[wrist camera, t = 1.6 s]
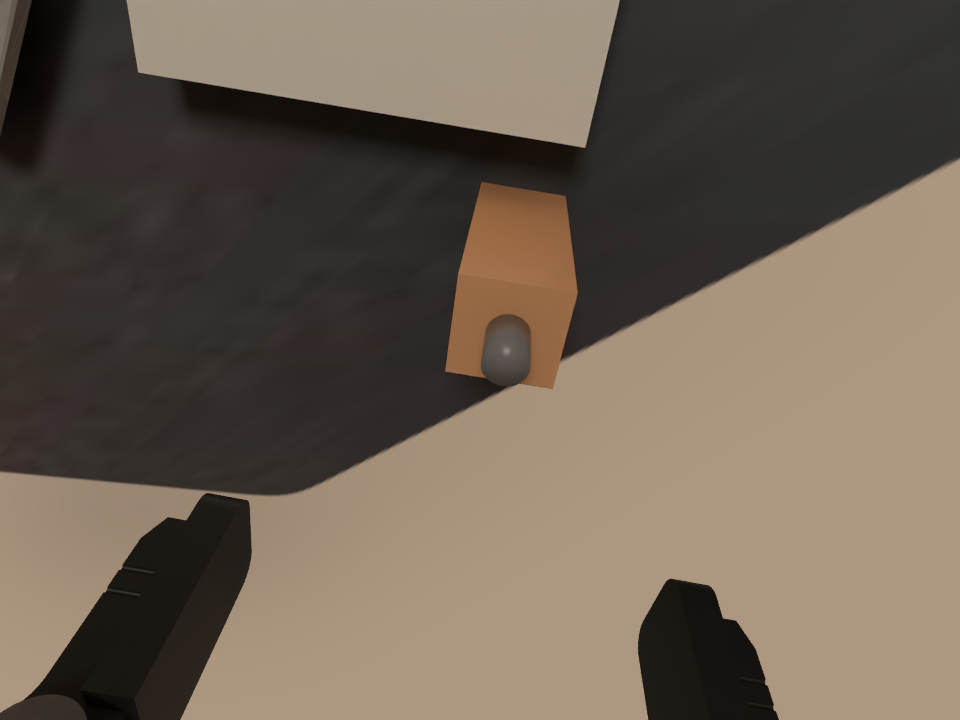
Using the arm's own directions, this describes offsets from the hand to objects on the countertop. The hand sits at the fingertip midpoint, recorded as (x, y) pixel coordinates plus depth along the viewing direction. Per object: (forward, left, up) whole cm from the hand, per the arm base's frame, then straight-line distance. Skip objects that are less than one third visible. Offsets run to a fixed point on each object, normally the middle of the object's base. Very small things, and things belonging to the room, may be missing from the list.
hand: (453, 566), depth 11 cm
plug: (-1, +1, -21) cm, 21 cm away
